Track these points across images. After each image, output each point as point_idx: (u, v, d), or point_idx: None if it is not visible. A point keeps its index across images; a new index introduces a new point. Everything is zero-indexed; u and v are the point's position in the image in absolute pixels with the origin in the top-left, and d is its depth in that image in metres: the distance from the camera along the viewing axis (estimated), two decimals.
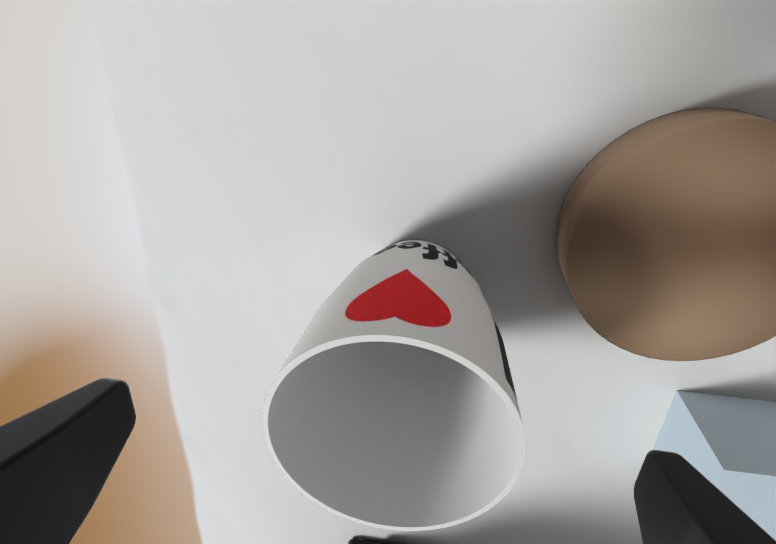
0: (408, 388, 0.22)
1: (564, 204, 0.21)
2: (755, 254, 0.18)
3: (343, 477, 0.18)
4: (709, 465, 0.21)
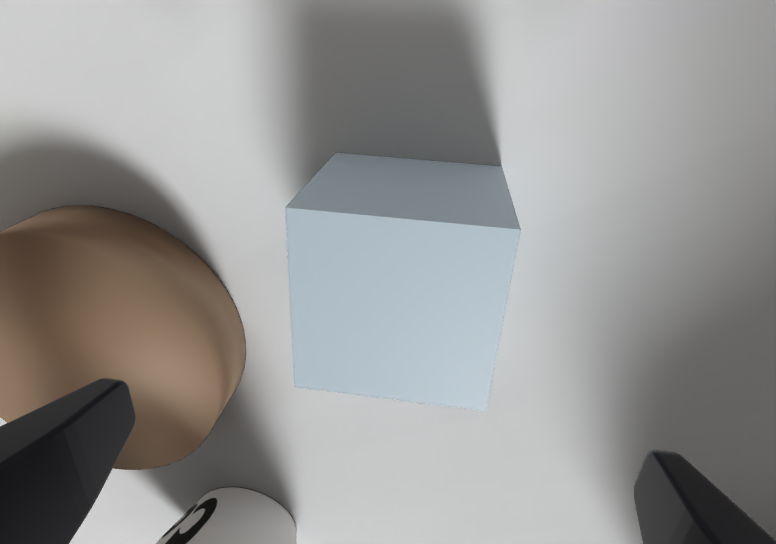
0: None
1: None
2: (60, 324, 0.16)
3: None
4: None
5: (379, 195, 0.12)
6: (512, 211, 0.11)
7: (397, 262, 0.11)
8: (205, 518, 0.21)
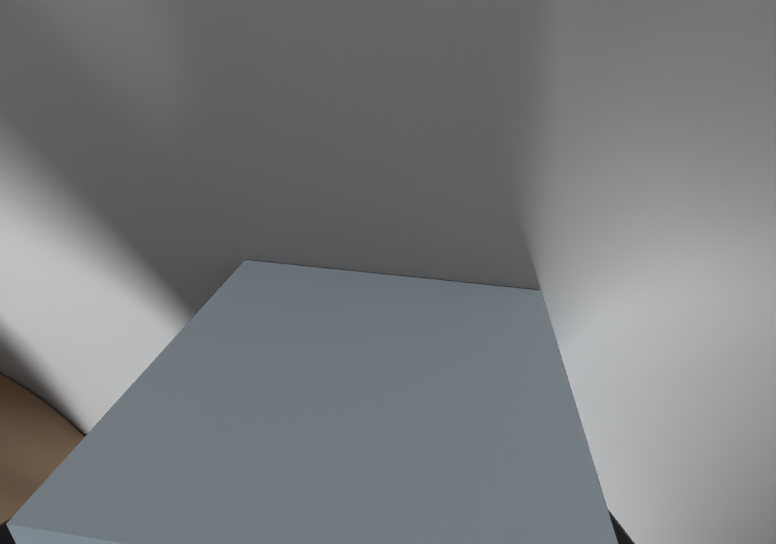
0: None
1: None
2: None
3: None
4: None
5: (279, 430, 0.05)
6: (598, 503, 0.04)
7: None
8: None
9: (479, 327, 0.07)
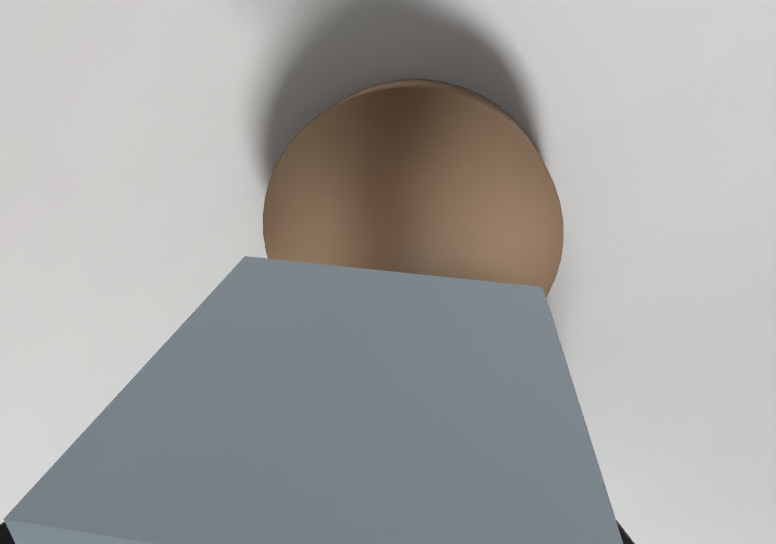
0: None
1: None
2: (404, 195, 0.15)
3: None
4: None
5: (279, 426, 0.05)
6: (602, 499, 0.04)
7: None
8: None
9: (480, 323, 0.07)
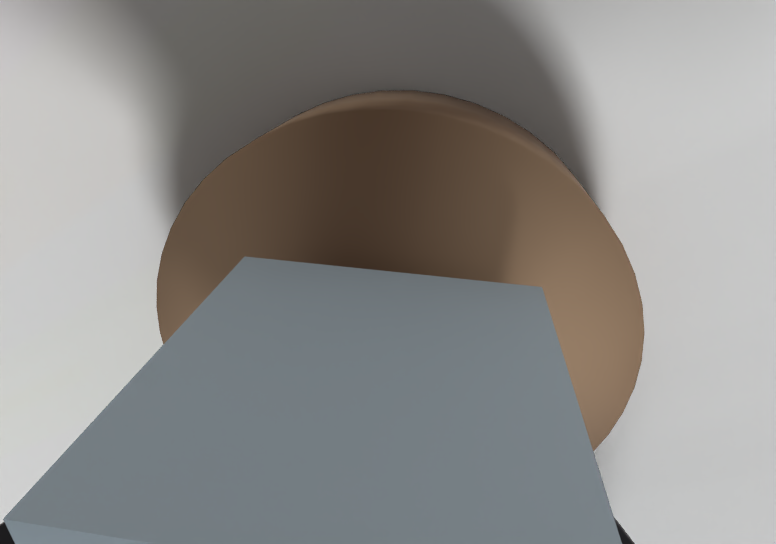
0: None
1: None
2: None
3: None
4: None
5: (278, 426, 0.05)
6: (599, 499, 0.04)
7: None
8: None
9: (480, 323, 0.07)
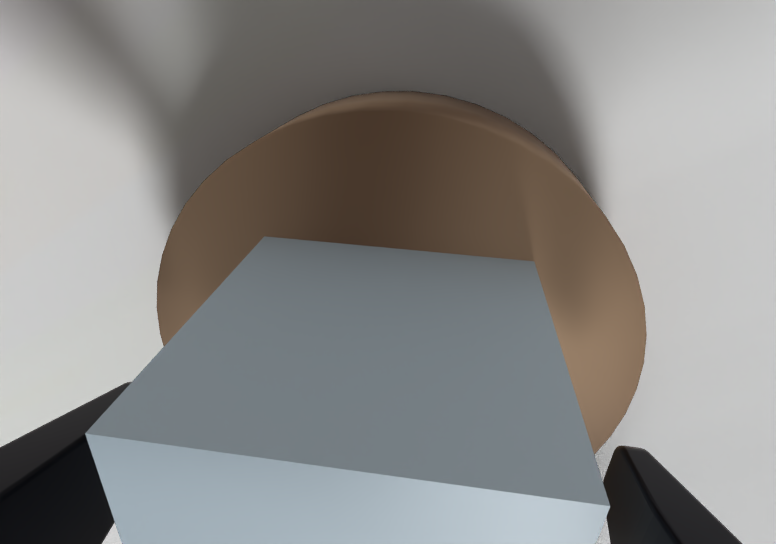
0: None
1: None
2: None
3: None
4: None
5: (305, 369, 0.06)
6: (577, 422, 0.05)
7: (334, 538, 0.05)
8: None
9: (477, 290, 0.08)
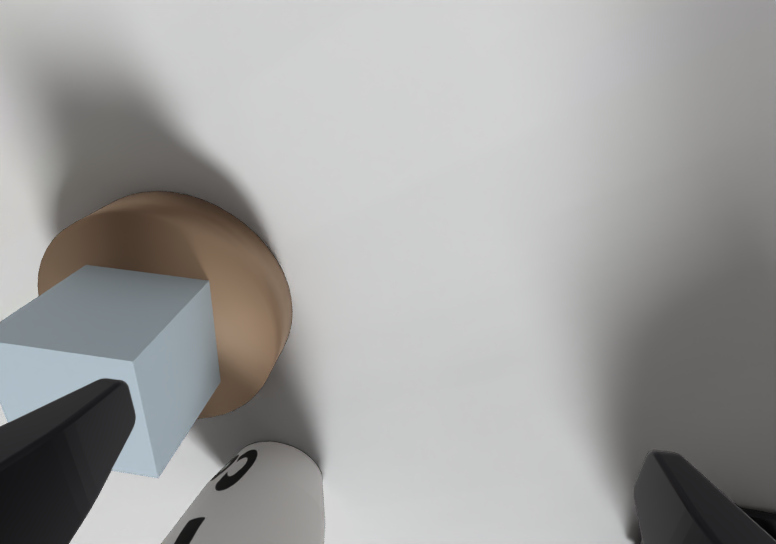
0: None
1: None
2: None
3: None
4: None
5: (64, 322, 0.16)
6: (149, 341, 0.15)
7: (61, 377, 0.15)
8: (249, 464, 0.24)
9: (165, 294, 0.18)
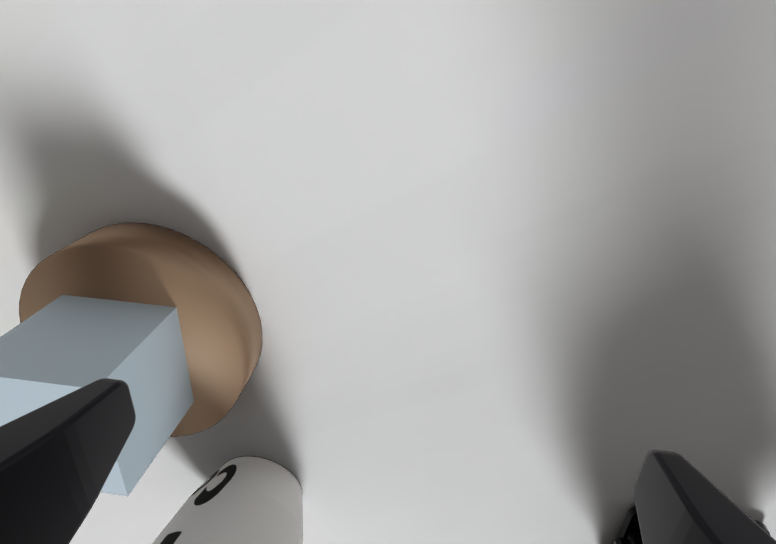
0: None
1: None
2: None
3: None
4: None
5: (35, 352, 0.17)
6: (113, 368, 0.16)
7: (31, 404, 0.16)
8: (227, 479, 0.25)
9: (133, 321, 0.19)
